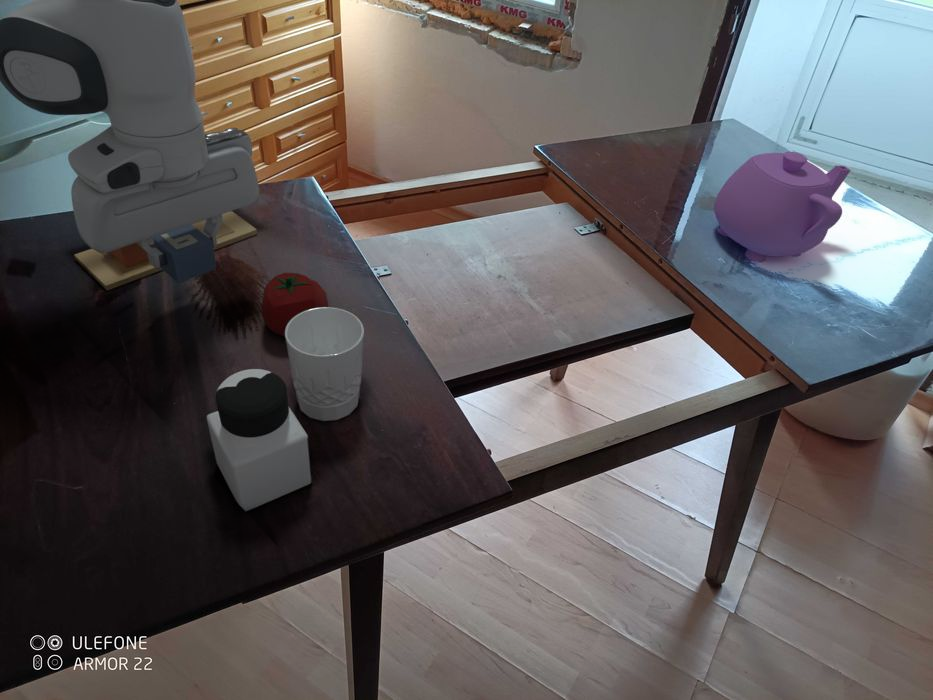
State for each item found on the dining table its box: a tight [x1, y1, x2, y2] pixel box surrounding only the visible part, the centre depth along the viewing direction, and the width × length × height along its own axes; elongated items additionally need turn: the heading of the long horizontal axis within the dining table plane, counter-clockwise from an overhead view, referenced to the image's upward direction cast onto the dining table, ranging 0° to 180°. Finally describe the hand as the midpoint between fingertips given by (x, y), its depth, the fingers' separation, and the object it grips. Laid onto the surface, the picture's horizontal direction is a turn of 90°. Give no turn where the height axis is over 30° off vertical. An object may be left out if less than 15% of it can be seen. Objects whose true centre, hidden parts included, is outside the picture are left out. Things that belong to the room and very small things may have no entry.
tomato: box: [261, 272, 329, 338], centre depth 83 cm, size 8×8×7 cm
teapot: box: [713, 151, 852, 263], centre depth 106 cm, size 20×20×15 cm
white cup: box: [284, 306, 365, 422], centre depth 73 cm, size 8×8×10 cm
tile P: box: [152, 224, 217, 284], centre depth 81 cm, size 5×5×4 cm
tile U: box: [110, 243, 153, 268], centre depth 91 cm, size 5×5×4 cm
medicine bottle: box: [206, 368, 313, 512], centre depth 64 cm, size 7×7×12 cm
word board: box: [73, 211, 258, 291], centre depth 95 cm, size 9×22×1 cm, turn 136°
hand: (184, 255), depth 82 cm, fingers closed on tile P, 5 cm apart
